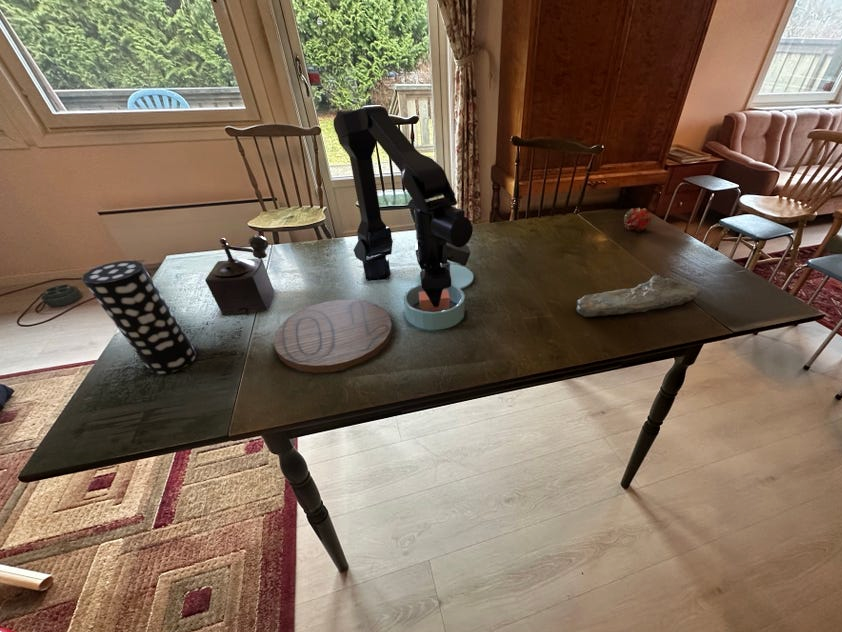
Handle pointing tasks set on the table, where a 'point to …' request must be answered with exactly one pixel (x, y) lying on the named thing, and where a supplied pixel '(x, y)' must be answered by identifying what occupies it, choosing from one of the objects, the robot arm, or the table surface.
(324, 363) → the trivet
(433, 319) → the pot
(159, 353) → the spotted tube
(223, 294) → the manual coffee grinder
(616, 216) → the table surface
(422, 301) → the orange rectangular block
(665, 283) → the long grey stone
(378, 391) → the table surface
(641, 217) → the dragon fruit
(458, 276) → the lid
